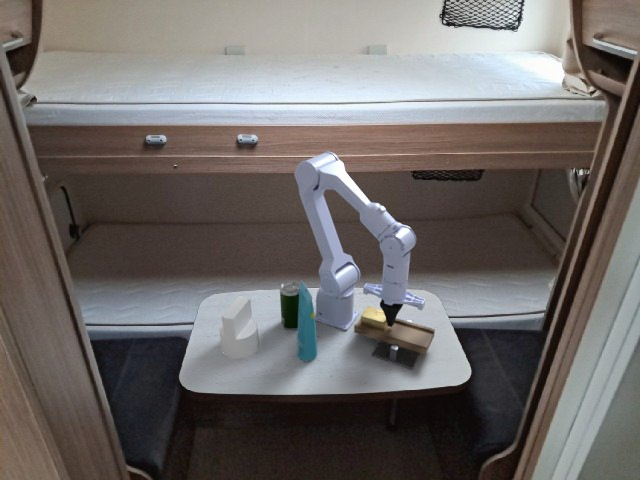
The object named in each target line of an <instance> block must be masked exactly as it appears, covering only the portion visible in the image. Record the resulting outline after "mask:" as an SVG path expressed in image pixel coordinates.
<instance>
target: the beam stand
mask: <svg viewBox="0 0 640 480" xmlns="http://www.w3.org/2000/svg"><path fill="white" fill-rule="evenodd" d="M405 321H408V322H411V323H413V320H411V319H406V320H405ZM420 355H421V353H419V352H416V351H413V350H409V349H406V348H403V347H400V346H396V345H393V344H390V343H387V342H384V341H380V340H379V342H378V344H377V345H376V346H375V348H374V350H373V351H372V354H371V357H374V358H377V359H380V360H383V361H386V362H389V363H391V364H394V365H398V366H400V367H402V368H405V369H409V370H412V371H413V369H414V367H415V365H416V363H417V360H418V358H419V356H420Z"/></svg>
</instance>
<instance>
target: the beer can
mask: <svg viewBox="0 0 640 480" xmlns="http://www.w3.org/2000/svg"><path fill="white" fill-rule="evenodd" d="M300 284H301V283H300V282H298V281H296V280H295V281H294V280H287V281H284V282H282V283H281V284H280V289H279V297H280V301H279V302H280V318H281V319H280V320H281V325H282V327H283V328H284V329H285V330H286V331H287V330H289V331H295V330H298V309H299V294H300Z"/></svg>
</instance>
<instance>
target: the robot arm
mask: <svg viewBox="0 0 640 480" xmlns="http://www.w3.org/2000/svg"><path fill="white" fill-rule="evenodd" d="M293 175H294V178H295V180H296V183H297V187H298V194H299V198H300V201H301V203H302V206H303V208H304V211H305V214H306V217H307V220H308V223H309V224H310V229H311V230H312V233H313V236H314V238H315V242H316V244H317V247H318V250H319V252H320V256H321V258H322V261H321V264H320V266H319V270H318V274H319V278H320V279H319V283H320V286H319V287H318V290H317V292H316V293H317V294H316V298H315V322H316V321H317V322H320V323H323V324H326V325H327V326H328V325H329V326H332V327H335V328H338V329H341V330H344V331H348V330H349V329H350V327H351V326H352V325H353V323H354V322H355V320H356V318H357V317H358V315H359V314H360V312H359V311H358V310H357V311H356V310H354V306H355V305H354V304H355V288H356V284H357V283H358V282H359V281H360V279H361V271H360V269H359V267H358V266H357V265H356V263H355V262H354V259H353V256H352V255H350V254H347V253H345V252H344V249H343V247H342V244H341V242H340V239H339V236H338V233H337V230H336V227H335V224H334V222H333V218H332V215H331V213H330V210H329V207H328V204H327V202H326V201H327V200H326V198H325V196H324V193H325V192H326V190H330V191H336V193H337V194H338V195H340V196H341V197H342V199H344V200H345V201H346V202H347V203H348V204H350V206H352V208H354V210H356V211H357V212H358V213H359V221H360V222H361V224H362V225H363V226H364V227H365V228H366V229H367V230H368V231H369V233H371V234H372V235H373V237H375V238H376V240H377V241H378V242H379V250H380V251H381V253H382V256H383V257H382V258H383V268H382V280H381V281H382V282H381V284H376V283H375V284H373V283H367V282H366V283H365V284H364V286H363V287H362V288H363V290H362V293H363V295H368V294H369V295H373V296H376V297H377V298H379V299H381V301H380V302H379V307H380V308H381V310H383V312H384V314H385V317H386V320H387V326H390V327H392V326H393V325H394V323H395V319H396V318H397V316H398V314H399V312H400V311H401V309H402V308H403V306H404V305H408V306H410V307H411V306H412V307H414V308H417V310H419V311H423V309H424V308H425V306H426V305H425V304H426V299H425V298H422V297H420V296H417V295H415V294H414V293H412V292H410V291H408V280H409V271H410V270H409V269H410V262H411V250H412V249H413V248H414V247H415V245H416V244H417V236H416V234H415V232H414V231H413V229H412V228H411V227H410V226H408V225H406V224H402V223H401V222H398V221H397V220H395V218H394V217H393V216H391V214H390V213H389V212H388V211H387V209H386V207H385V206H384V205H381V203H379V202H371V201H370V200H369V199H368V197H367V195H365V194H364V193H363V191H362V190H361V188H359V186H358V185H357V184H356V183H355V181H354V180H353V179H352V177H350V176H349V174H348V173H347V171H346V167H345V164H344V162H343V161H341V160H340V159H339V156H338V155H337V154H336V153H334V152H331V151H325V152H323V153H321V154H319V155H315V156H314V157H311V158H309V159H306V160H303V161H300V162H299V163H298V164H297V167H296V168H295V171H294V173H293Z"/></svg>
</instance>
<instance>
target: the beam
mask: <svg viewBox="0 0 640 480" xmlns="http://www.w3.org/2000/svg"><path fill="white" fill-rule="evenodd" d="M435 332H436V329H435V328H432V327H429V326H426V325H421V324H418V323H415V322H412V323H411V322H408V321H406V320H404V319H400V318H397V317H396V319H395V323H394V325H393V326H392V327H390V326H387V328H386V329H385V331H384V332H381V331H378V330H375V329H371V328H368V327H365V326H361V317H360V319H359V320H358V321H357V323H355V324H354V325H353V333H355V334H357V335H362V336H365V337H368V338H371V339H374V340H378V341H379V342H380V341H384V342H387V343H390V344H393V345H396V346H400V347H403V348H406V349H409V350H413V351H416V352H419V353H420V354H423V355H427V353H428V351H429V348H430V346H431V344H432V342H433V340H434V337H435Z"/></svg>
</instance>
